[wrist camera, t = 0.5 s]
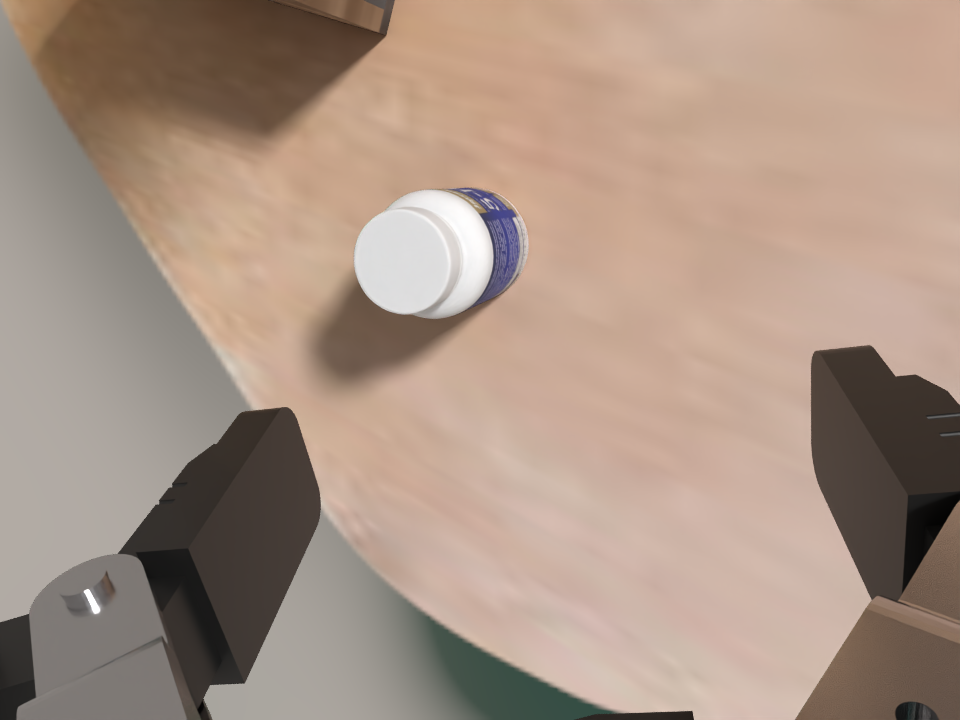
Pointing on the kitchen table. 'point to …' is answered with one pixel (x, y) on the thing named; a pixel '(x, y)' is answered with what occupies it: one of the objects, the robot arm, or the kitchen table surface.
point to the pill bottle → (441, 251)
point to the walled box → (349, 11)
